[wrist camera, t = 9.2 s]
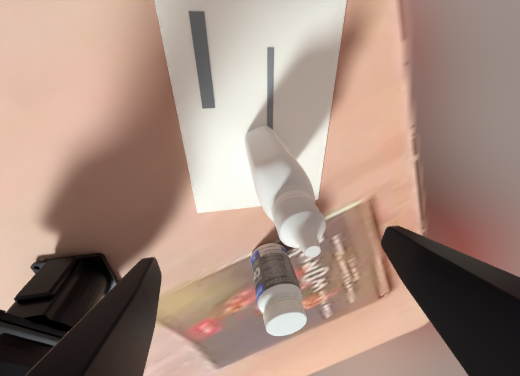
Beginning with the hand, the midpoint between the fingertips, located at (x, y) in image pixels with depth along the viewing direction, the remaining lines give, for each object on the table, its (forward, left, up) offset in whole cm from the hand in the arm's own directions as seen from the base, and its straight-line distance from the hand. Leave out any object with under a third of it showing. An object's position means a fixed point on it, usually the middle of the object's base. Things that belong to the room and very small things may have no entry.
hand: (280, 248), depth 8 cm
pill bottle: (-15, -2, -13) cm, 20 cm away
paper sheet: (+2, -1, -13) cm, 13 cm away
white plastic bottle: (-1, -2, -13) cm, 13 cm away
